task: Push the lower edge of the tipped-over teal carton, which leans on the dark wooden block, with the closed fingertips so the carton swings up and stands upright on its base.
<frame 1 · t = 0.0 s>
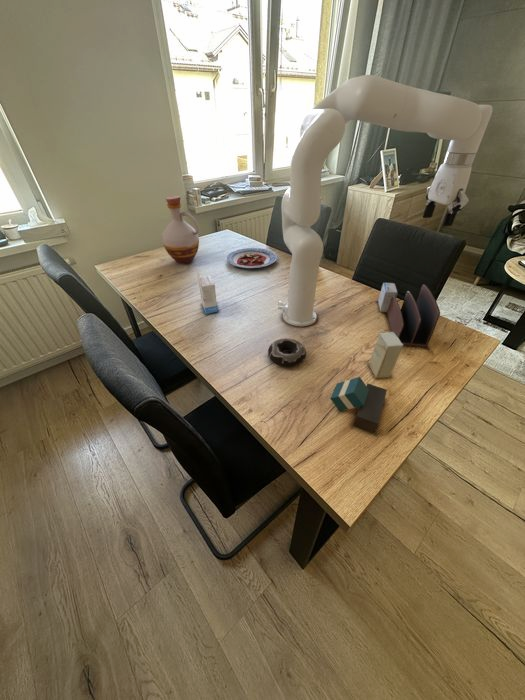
hand: (436, 221, 95), 31 cm above the table, tool pointing down, fingers open, 9 cm apart
jug: (186, 261, 150), on the table
medicine box: (384, 307, 113), on the table
ceramic plate: (251, 261, 149), on the table
teal carton: (338, 396, 75), point 2 cm above the table, touching dark block
ink box: (209, 308, 113), on the table
letter holder: (404, 329, 101), on the table
cosmetic box: (379, 371, 85), on the table
dark block: (368, 412, 73), on the table
donut: (286, 357, 90), on the table
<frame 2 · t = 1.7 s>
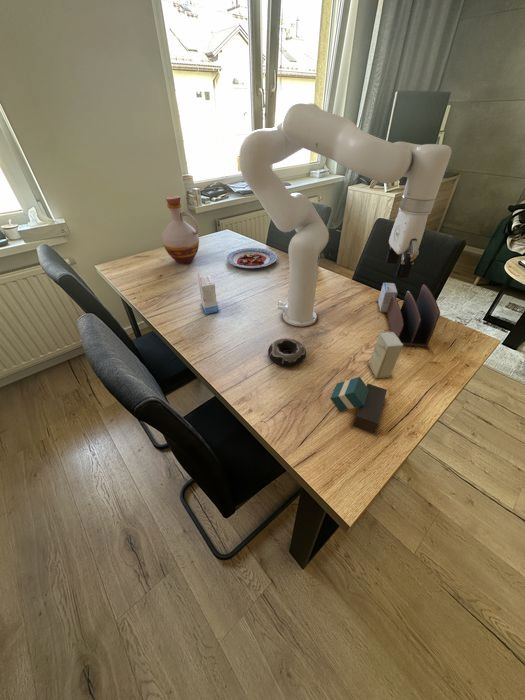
hand: (396, 269, 83), 24 cm above the table, tool pointing down, fingers open, 9 cm apart
nothing on the table moved.
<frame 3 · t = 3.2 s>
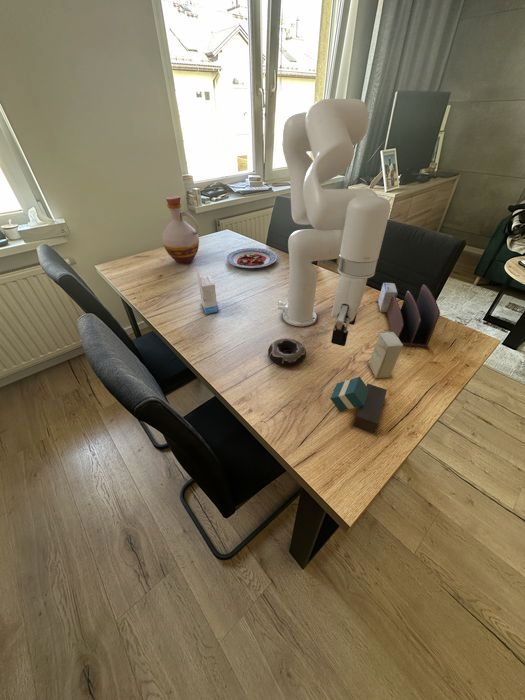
hand: (343, 333, 69), 18 cm above the table, tool pointing down, fingers open, 9 cm apart
nothing on the table moved.
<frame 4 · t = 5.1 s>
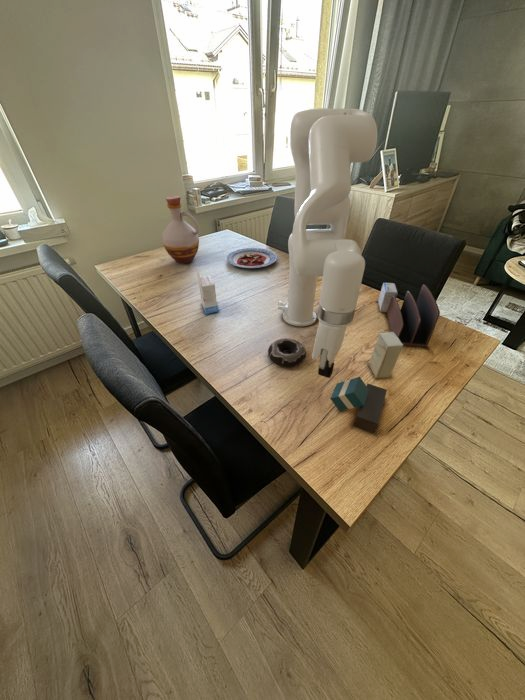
hand: (324, 374, 72), 8 cm above the table, tool pointing down, fingers closed
nothing on the table moved.
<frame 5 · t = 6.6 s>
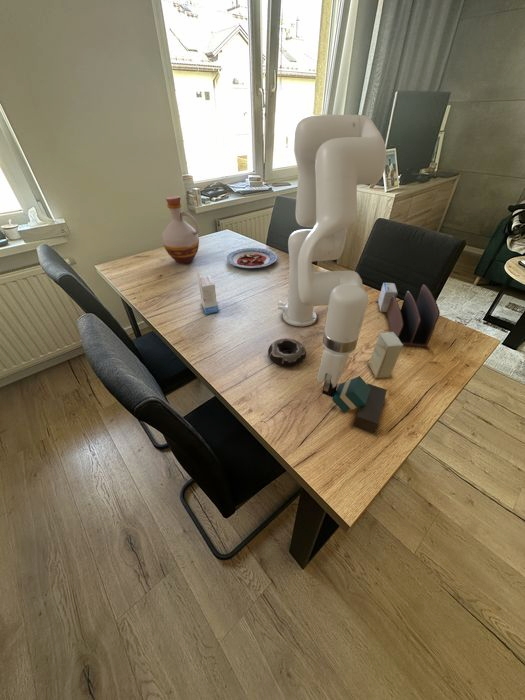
hand: (328, 393, 76), 2 cm above the table, tool pointing down, fingers closed
teal carton: (340, 397, 75), point 1 cm above the table, tilted 5°, touching gripper
everything else where it was.
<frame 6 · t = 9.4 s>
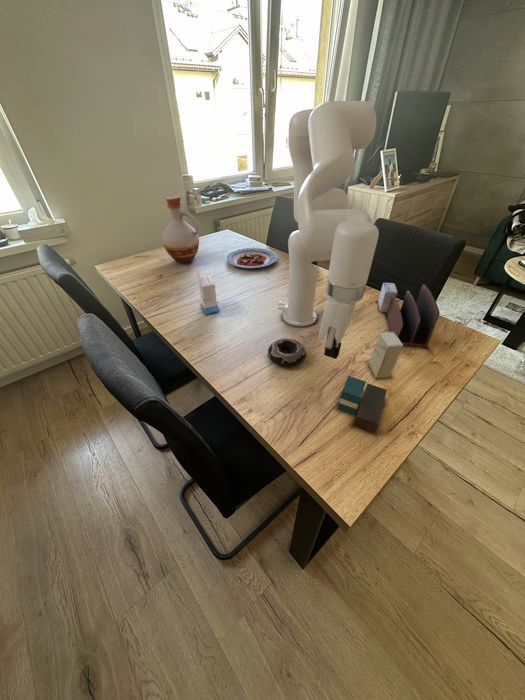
hand: (331, 355, 70), 14 cm above the table, tool pointing down, fingers closed
teal carton: (348, 404, 75), on the table, tilted 45°
everything else where it was.
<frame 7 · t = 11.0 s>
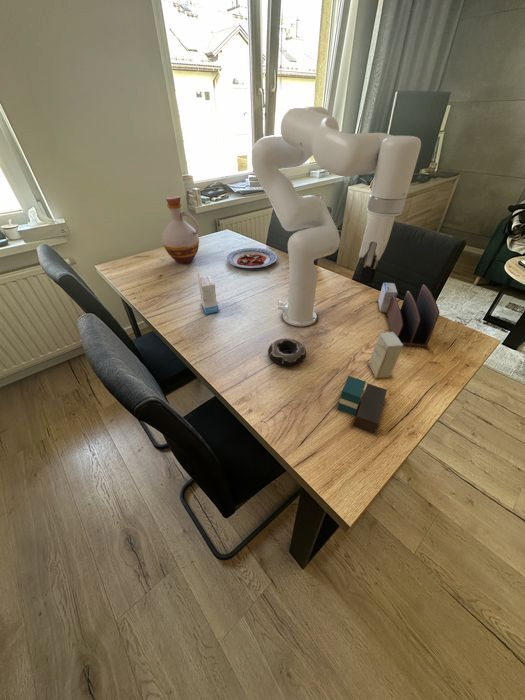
hand: (366, 280, 75), 25 cm above the table, tool pointing down, fingers closed
nothing on the table moved.
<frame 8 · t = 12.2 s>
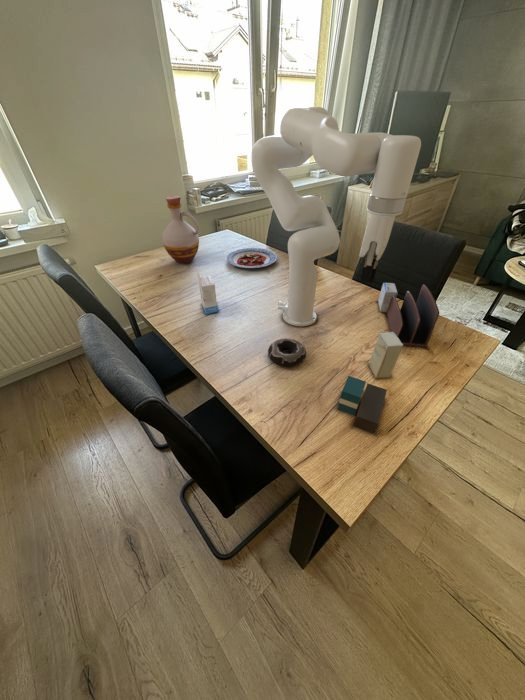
hand: (367, 280, 75), 25 cm above the table, tool pointing down, fingers closed
nothing on the table moved.
at the end: teal carton inside the target area (2.3 cm from its centre), on the table; teal carton tilted 45° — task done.
